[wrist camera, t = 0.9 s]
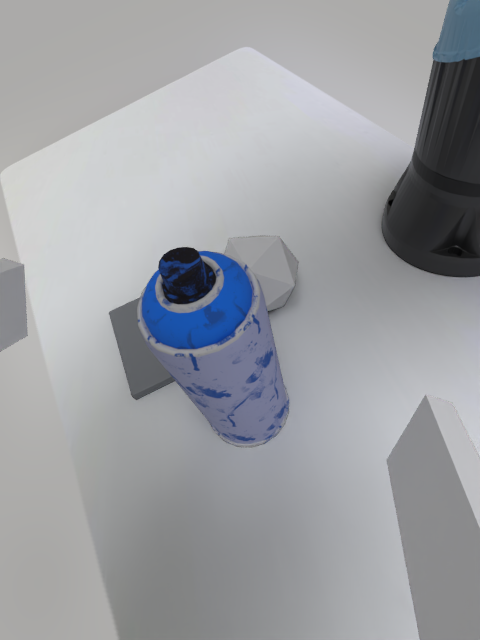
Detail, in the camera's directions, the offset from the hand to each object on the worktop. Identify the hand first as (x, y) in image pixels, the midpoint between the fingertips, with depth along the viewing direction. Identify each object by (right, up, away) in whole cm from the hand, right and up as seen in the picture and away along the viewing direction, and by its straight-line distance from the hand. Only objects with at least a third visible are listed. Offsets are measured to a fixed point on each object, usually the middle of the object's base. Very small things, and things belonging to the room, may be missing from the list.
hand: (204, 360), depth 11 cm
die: (+4, +4, +30) cm, 30 cm away
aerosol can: (+2, -7, +23) cm, 24 cm away
